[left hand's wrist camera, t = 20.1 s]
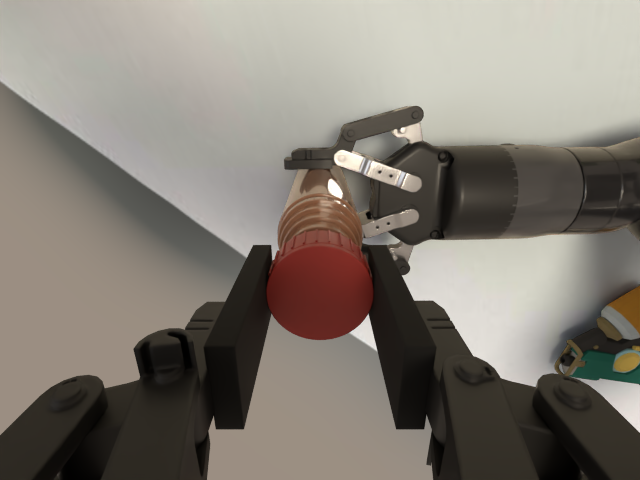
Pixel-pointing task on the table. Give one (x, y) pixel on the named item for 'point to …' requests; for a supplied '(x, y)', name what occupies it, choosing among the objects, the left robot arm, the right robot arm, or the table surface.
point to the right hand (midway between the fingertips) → (288, 197)
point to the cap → (320, 285)
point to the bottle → (320, 206)
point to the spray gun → (608, 344)
